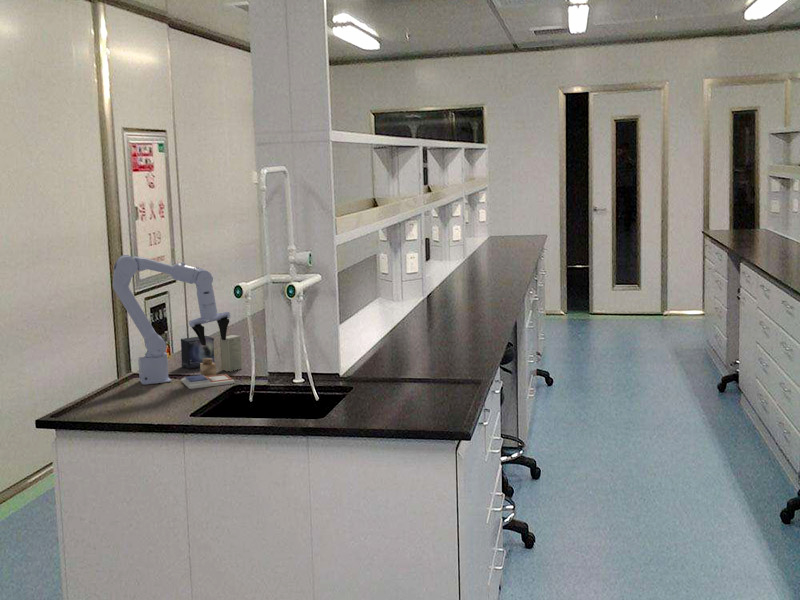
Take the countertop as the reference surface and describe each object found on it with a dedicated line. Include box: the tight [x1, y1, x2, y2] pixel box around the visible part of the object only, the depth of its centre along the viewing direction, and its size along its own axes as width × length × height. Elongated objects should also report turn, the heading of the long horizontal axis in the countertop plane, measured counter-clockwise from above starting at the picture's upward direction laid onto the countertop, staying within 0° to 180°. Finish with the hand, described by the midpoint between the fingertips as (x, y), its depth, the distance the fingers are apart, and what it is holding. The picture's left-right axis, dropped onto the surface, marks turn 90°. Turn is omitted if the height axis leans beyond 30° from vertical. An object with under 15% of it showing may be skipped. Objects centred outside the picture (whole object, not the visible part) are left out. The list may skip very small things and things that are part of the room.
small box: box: [180, 335, 215, 370], centre depth 314 cm, size 11×6×10 cm, turn 129°
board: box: [181, 373, 236, 390], centre depth 287 cm, size 15×12×2 cm
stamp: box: [199, 358, 217, 376], centre depth 296 cm, size 4×4×6 cm
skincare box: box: [219, 334, 243, 372], centre depth 306 cm, size 6×4×12 cm
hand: (213, 342), depth 296 cm, fingers open, 7 cm apart
